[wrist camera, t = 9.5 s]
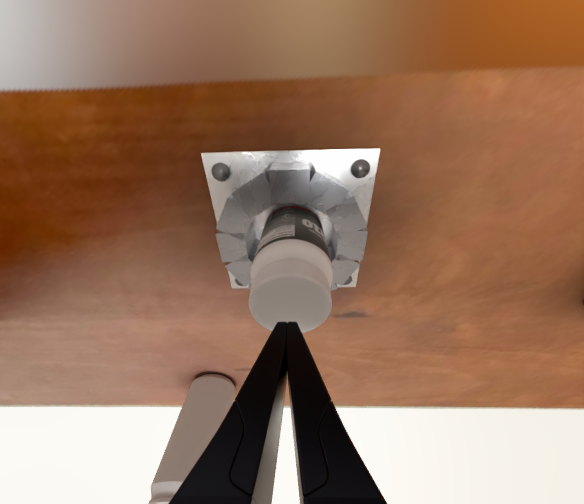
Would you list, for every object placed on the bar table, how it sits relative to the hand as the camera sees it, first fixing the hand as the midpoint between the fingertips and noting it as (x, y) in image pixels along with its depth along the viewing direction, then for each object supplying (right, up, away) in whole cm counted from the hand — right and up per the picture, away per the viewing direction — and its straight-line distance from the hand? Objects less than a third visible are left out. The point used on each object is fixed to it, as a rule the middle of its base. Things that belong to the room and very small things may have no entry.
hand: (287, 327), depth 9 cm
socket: (0, +5, +8) cm, 10 cm away
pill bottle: (0, +5, +8) cm, 10 cm away
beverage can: (-11, -16, +22) cm, 30 cm away
